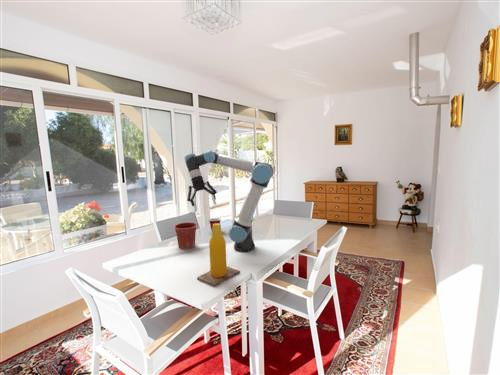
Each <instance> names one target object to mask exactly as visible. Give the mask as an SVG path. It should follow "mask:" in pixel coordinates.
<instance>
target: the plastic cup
mask: <svg viewBox="0 0 500 375" xmlns="http://www.w3.org/2000/svg"><path fill="white" fill-rule="evenodd" d="M221 220H222V218H219V217H218V218H217V217H214V218H209V219H208V221H209V225H210V230H211V231H212V228H213V224H214V223H220V224H221Z"/></svg>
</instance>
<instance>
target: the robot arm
mask: <svg viewBox="0 0 500 375" xmlns="http://www.w3.org/2000/svg"><path fill="white" fill-rule="evenodd" d="M184 162H185V164H186V165H185V166H186V168H187V171H188V174H189V177H190V181H191V185H189V186H188V194H187V202H190V204H191V206H192V207H193V208H194V211H195V212H197V211H198V208H197V204H196V201H195V197H196V194H197V192H200V191H203V190H204V191H206V192H207V193H209V194H210V195H211V200H212V203H213V206H216V205H217V202H216V199H217V198H216V197H217V196H216V194H217V193H218V192H217V191H216V189H215V188H214V187H213V186H212V185H211V183H210V182H209V181H208V180H207V181H206V182H205V181H204V178H203V176H202V171H201V169H200V167H201V166H204V165H207V164H214V165H218V166H219V165H220V166H223V167H227V168H229V169H230V168H231V169H234V170H237V171H242V172H245V173H249V174H251V176H250V177H251V178H250V180H249V181H250V185H249V189H248V191H247V193H246V197H245V198H244V201H243V203H242V204H243V205H242V207H241V209H240V212H239V214H238V215H237V216H236V217H235V218H234V220H233V223H232V226H231V227H230V228H229V230H228V237H229V238H230V240H231V241H232V242H234V244H233V250H234V251H236V252H240V253H241V252H242V253H248V252H252V251H254V250H255V249H256V244H255V241H254V239H253V216H254V214H255V211H256V209H257V206H258V204H259V203H260V202H259V201H260V199H261V197H262V194H263V192H264V189H267V187H268V186H269V183H270V181H271V179H272V178H273V175H274V167H273V166H272V165H271V164H270V163H268V162H260V161H250V160H245V159H243V158H238V157H233V156H230V155H226V154H222V153H217V152H215V151H212V150H211V149H208V150H205V151H203V152H201V153H199V154H195V153H193V152H192V153H188V154H186V155H185V156H184ZM193 189H194V190H193ZM192 190H193V193H192Z"/></svg>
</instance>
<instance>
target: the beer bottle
mask: <svg viewBox="0 0 500 375" xmlns="http://www.w3.org/2000/svg"><path fill="white" fill-rule="evenodd" d="M208 242H209V243H208V244H209V245H208V248H209V267H210V270H209V271H210V273H211V276H213V277H216V278H219V277H223V276H225V275H226V274H227V249H226V248H227V244H226V239H225V238H224V235H223V232H222V227H221V222H220V223H214V224H213V228H212V230H211V237H210V239H209V241H208Z"/></svg>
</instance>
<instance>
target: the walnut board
mask: <svg viewBox="0 0 500 375" xmlns="http://www.w3.org/2000/svg"><path fill="white" fill-rule="evenodd" d="M240 273H241V270H239V269H237V268H233V267H230V266H227V274H226V275H225V276H223V277H219V278H216V277H213V276H211V273H210V270H209V271H207V272H205V273H203V274H201V275H199V276H196V279H197V281H200V282H201V283H204V284H206V283H207V284H206V285H209V286H211V287H213V286H214V287H213V288H216V287H218V286H219V285H221V284H222V282H223V283H225V282H226V281H228V280H230V279H231V278H232V279H233V277H235V276H237V275H239V274H240ZM224 281H225V282H224ZM217 285H218V286H217ZM215 286H216V287H215Z"/></svg>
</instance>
